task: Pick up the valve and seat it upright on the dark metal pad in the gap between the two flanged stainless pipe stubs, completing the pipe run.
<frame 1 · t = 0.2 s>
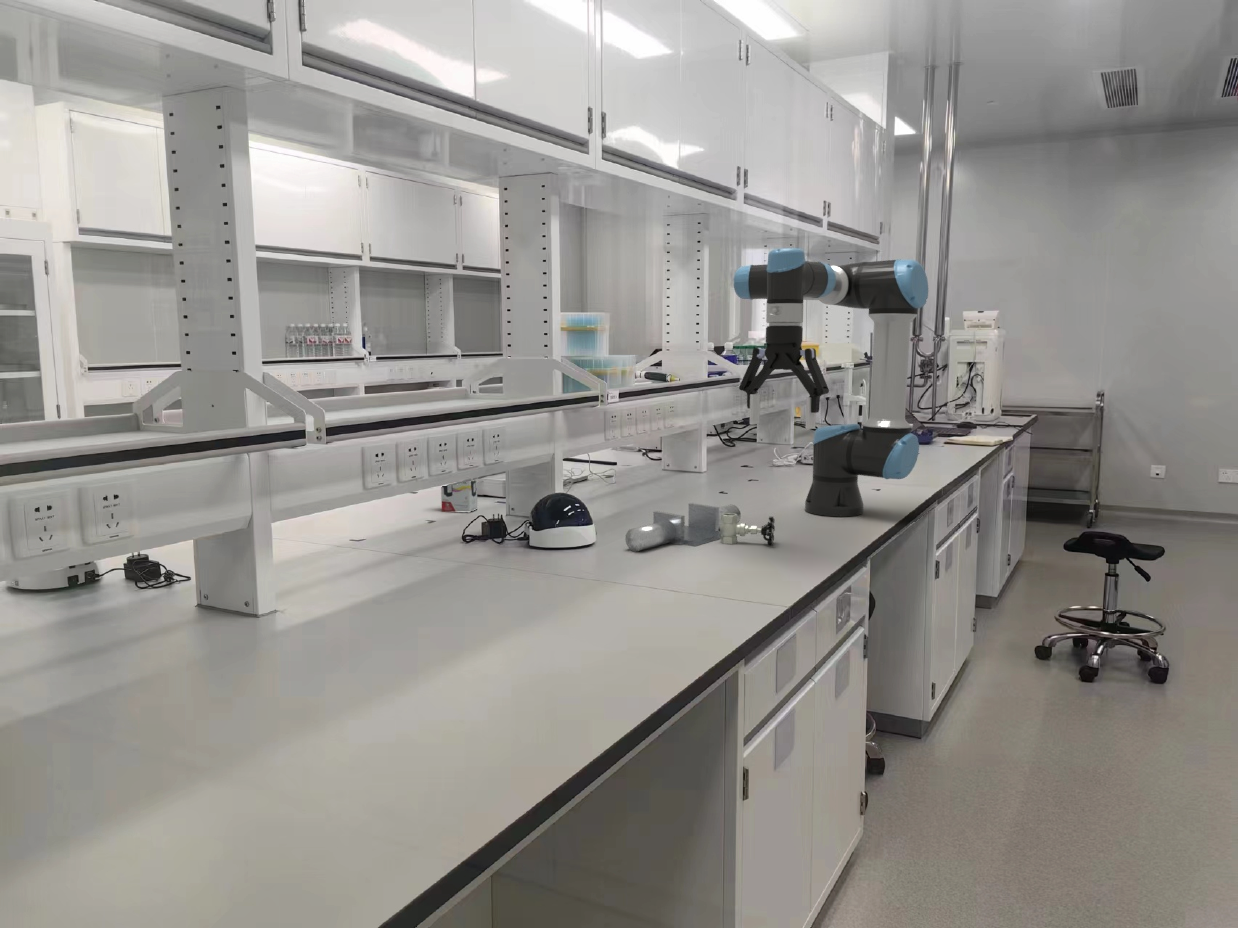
hand: (781, 426, 186), 27 cm above the worktop, fingers open, 13 cm apart
ink box: (459, 511, 235), on the worktop
valve: (745, 544, 199), on the worktop
pipe run: (686, 536, 205), on the worktop
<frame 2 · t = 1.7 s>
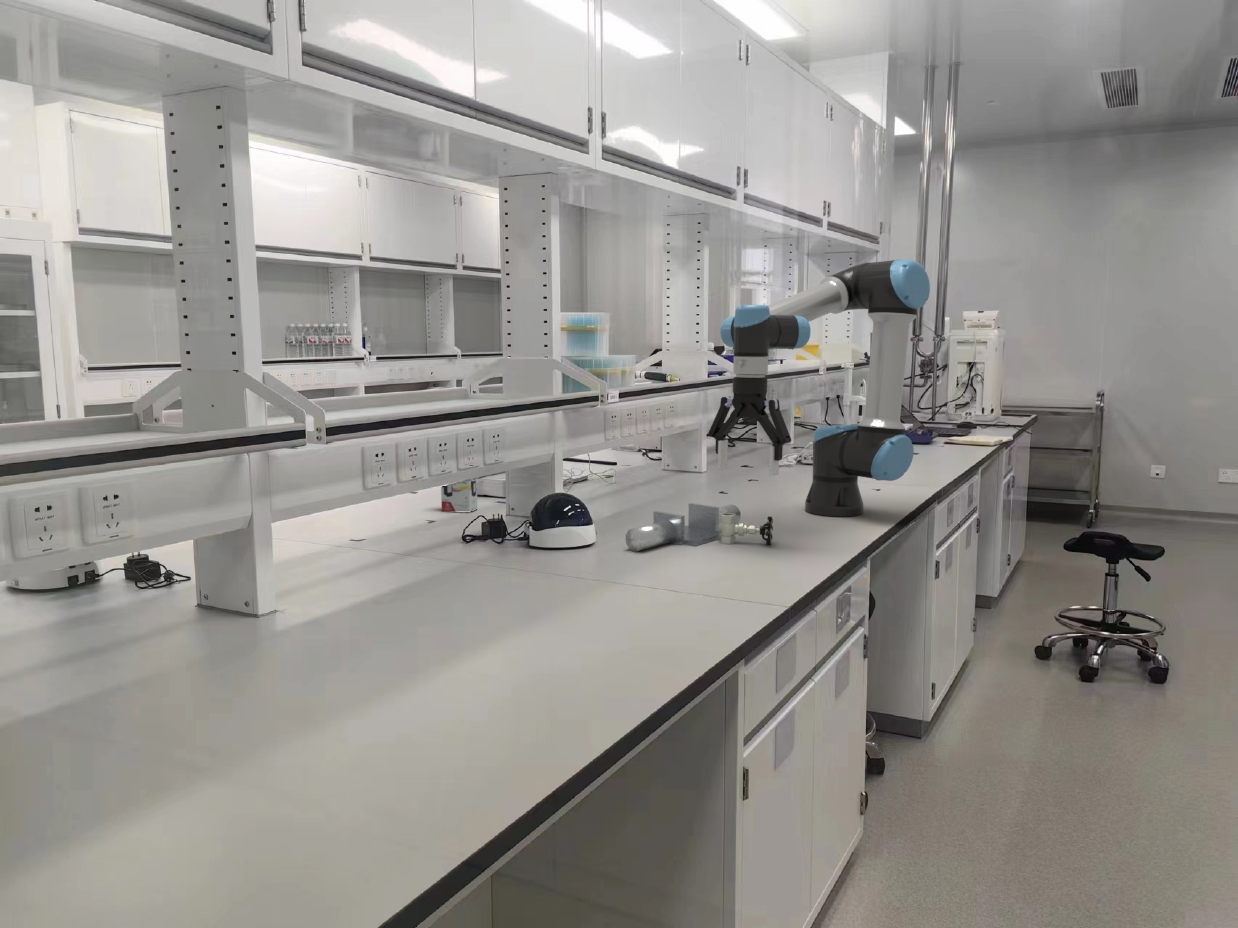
hand: (747, 472, 196), 16 cm above the worktop, fingers open, 13 cm apart
nothing on the worktop moved.
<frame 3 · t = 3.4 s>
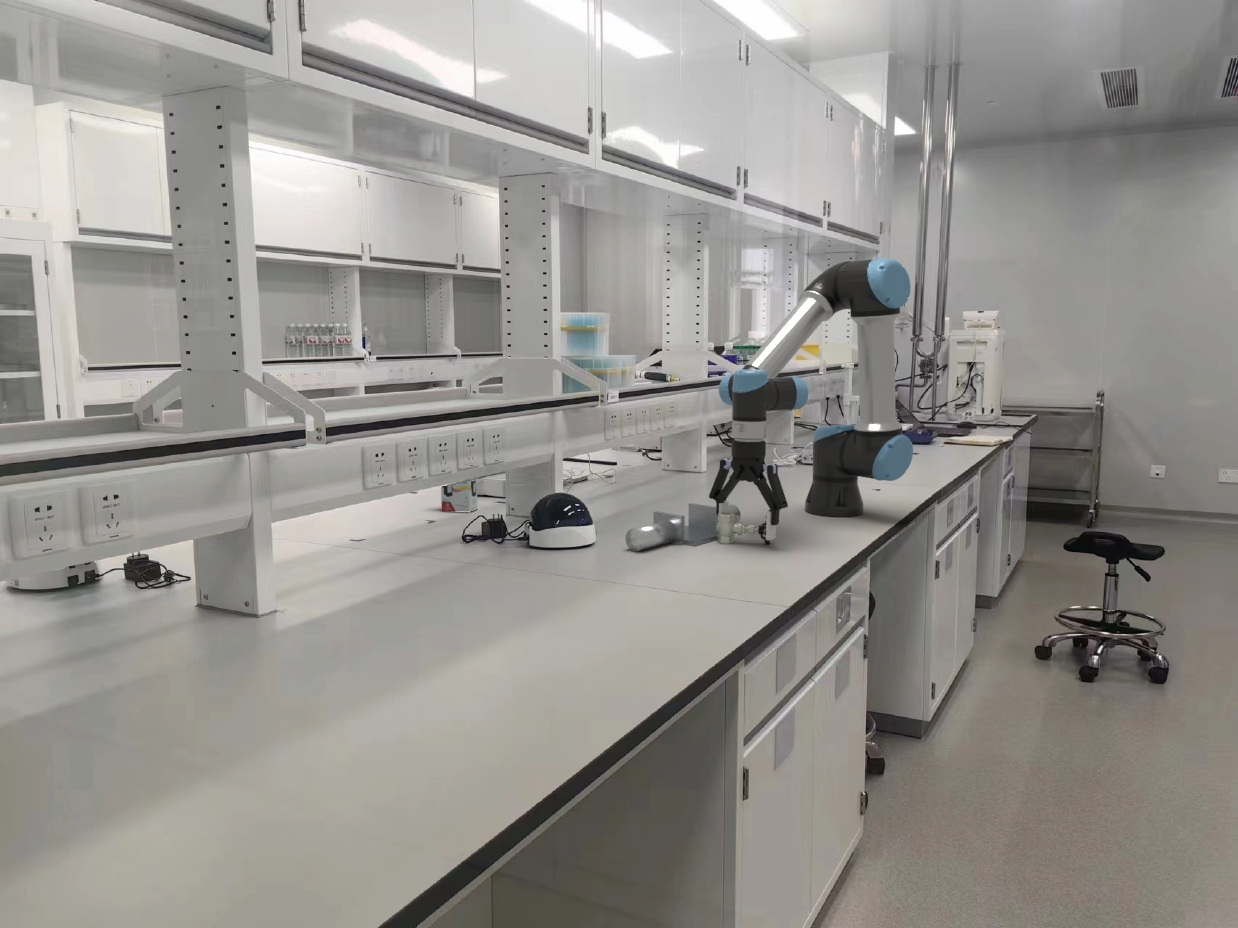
hand: (746, 534, 198), 2 cm above the worktop, fingers closed on valve, 12 cm apart
valve: (743, 543, 199), on the worktop, touching gripper
everything else where it was.
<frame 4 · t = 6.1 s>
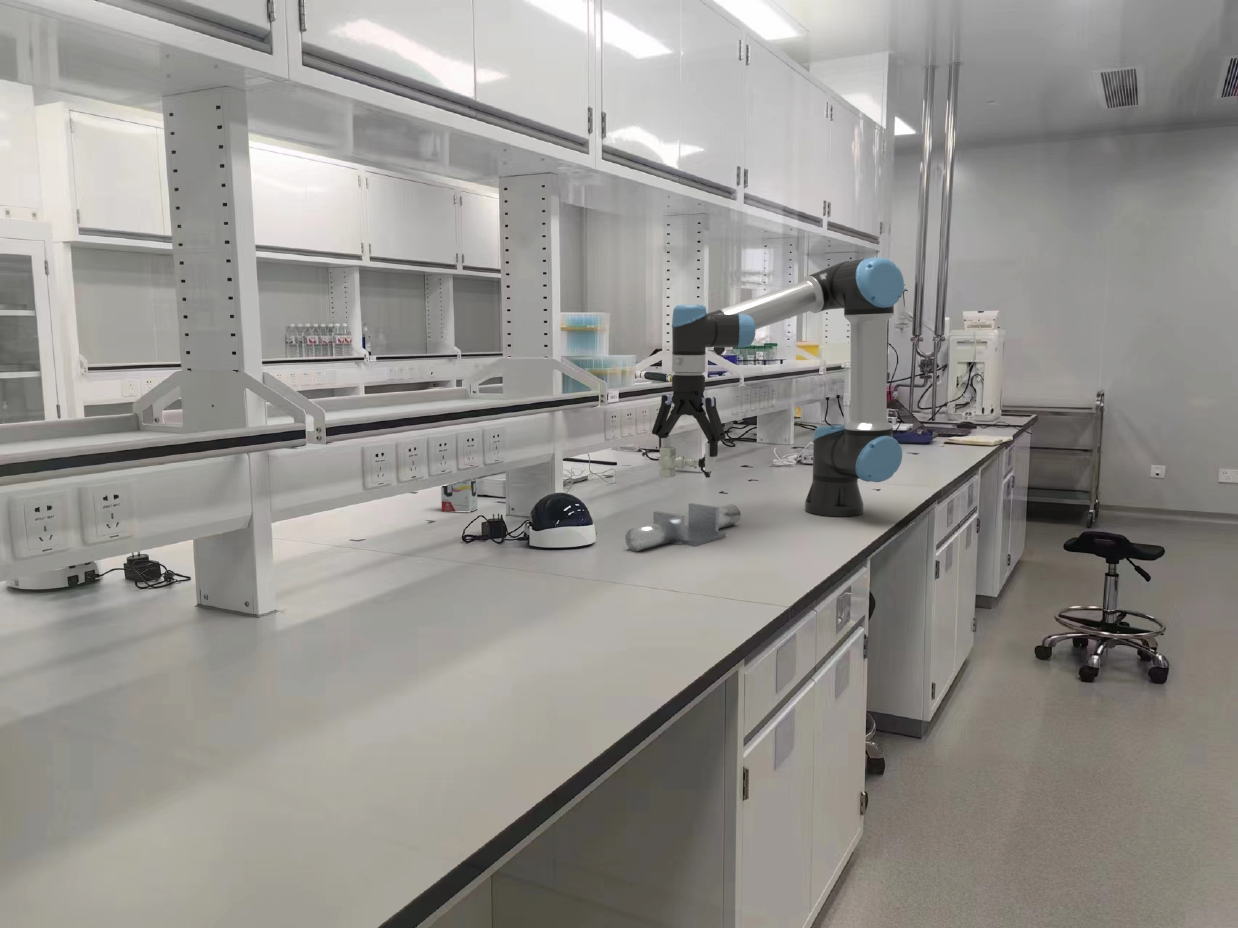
hand: (687, 468, 202), 16 cm above the worktop, fingers closed on valve, 12 cm apart
valve: (684, 477, 203), point 14 cm above the worktop, touching gripper
everything else where it was.
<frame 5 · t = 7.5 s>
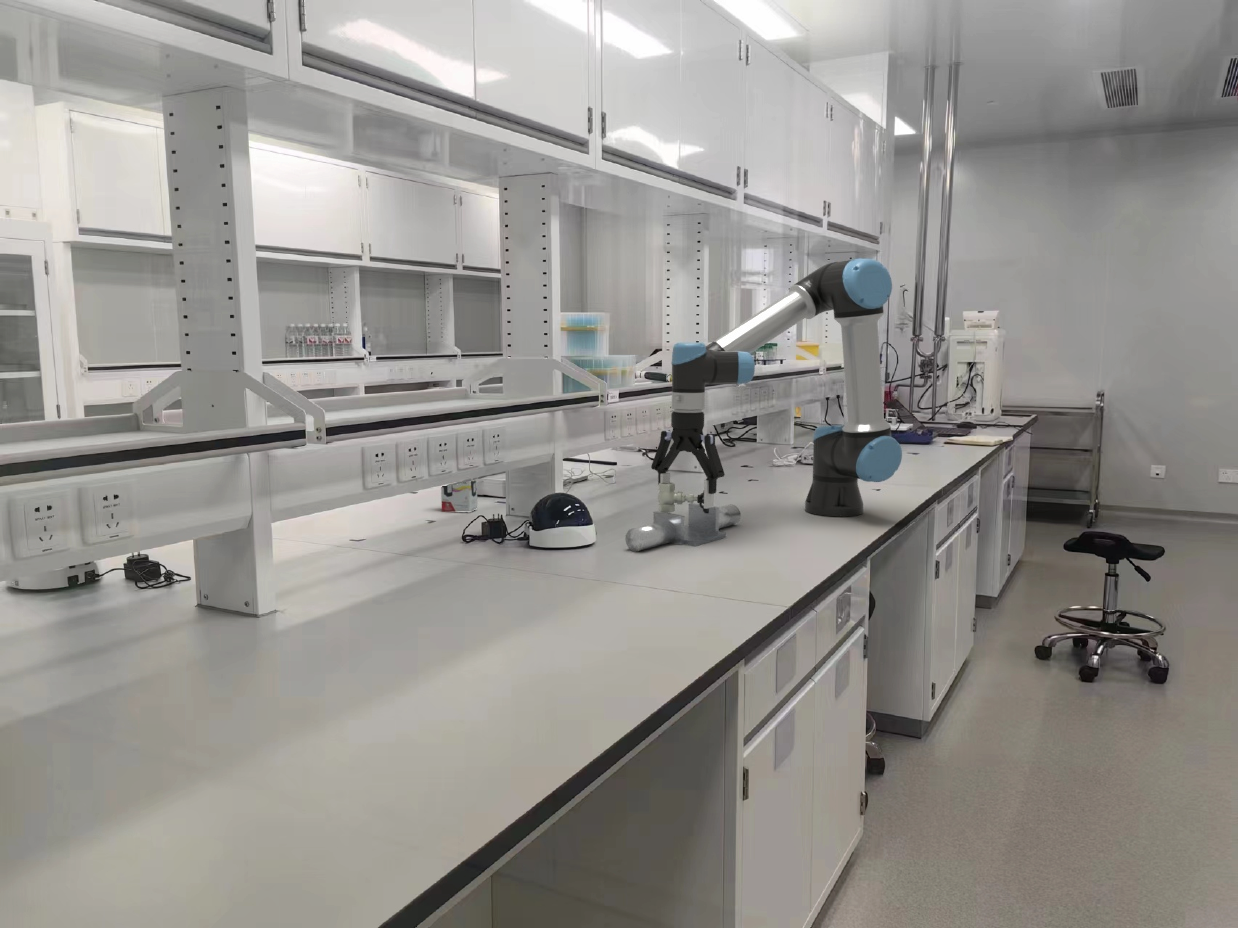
hand: (686, 504, 204), 8 cm above the worktop, fingers closed on valve, 12 cm apart
valve: (683, 512, 204), point 6 cm above the worktop, touching gripper
everything else where it was.
when the fingers open (4 cm above the worktop, at t = 8.9 s): valve drops 1 cm, resting on pipe run.
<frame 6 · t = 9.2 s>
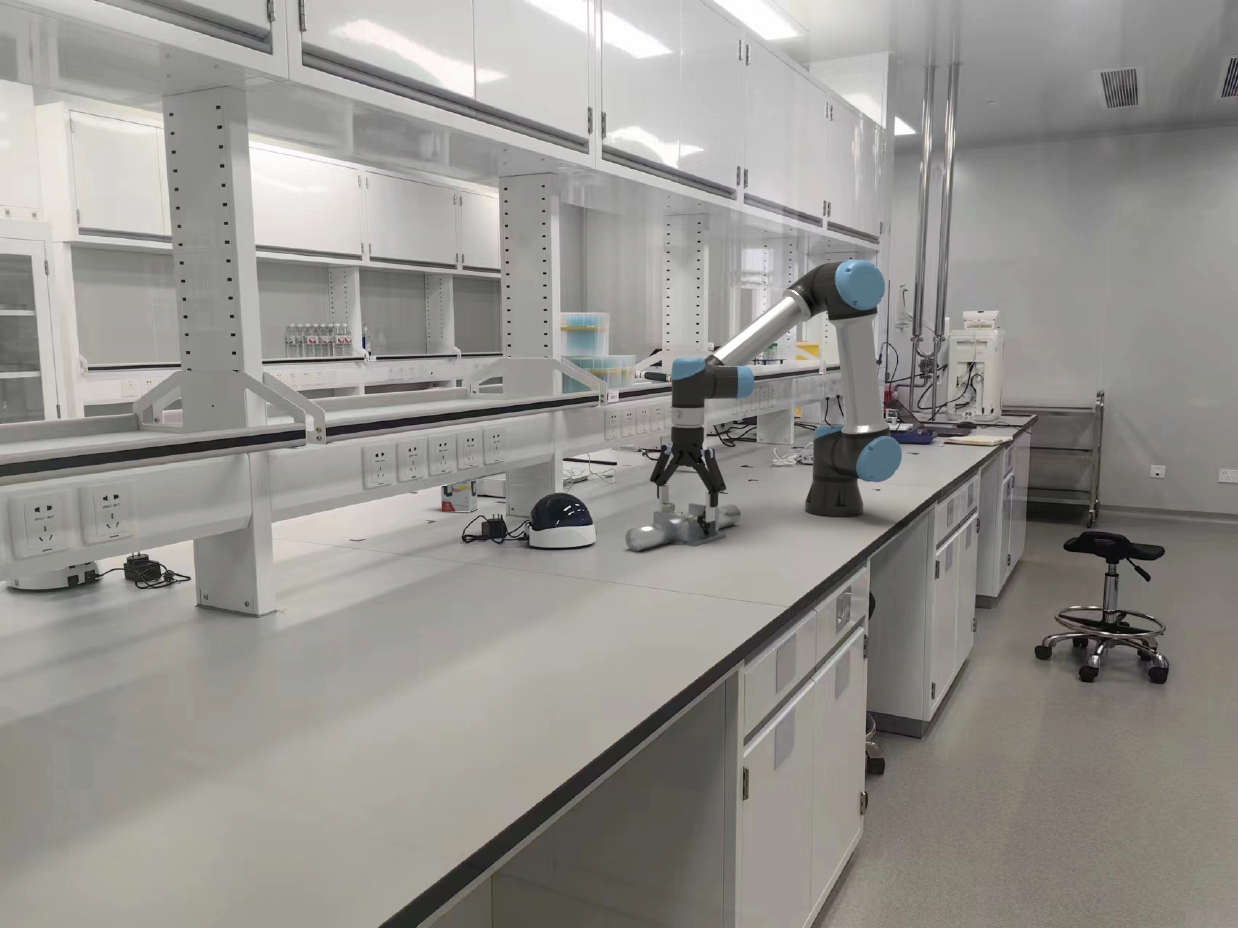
hand: (686, 517, 204), 5 cm above the worktop, fingers open, 13 cm apart
valve: (683, 533, 205), point 1 cm above the worktop, touching pipe run
everything else where it was.
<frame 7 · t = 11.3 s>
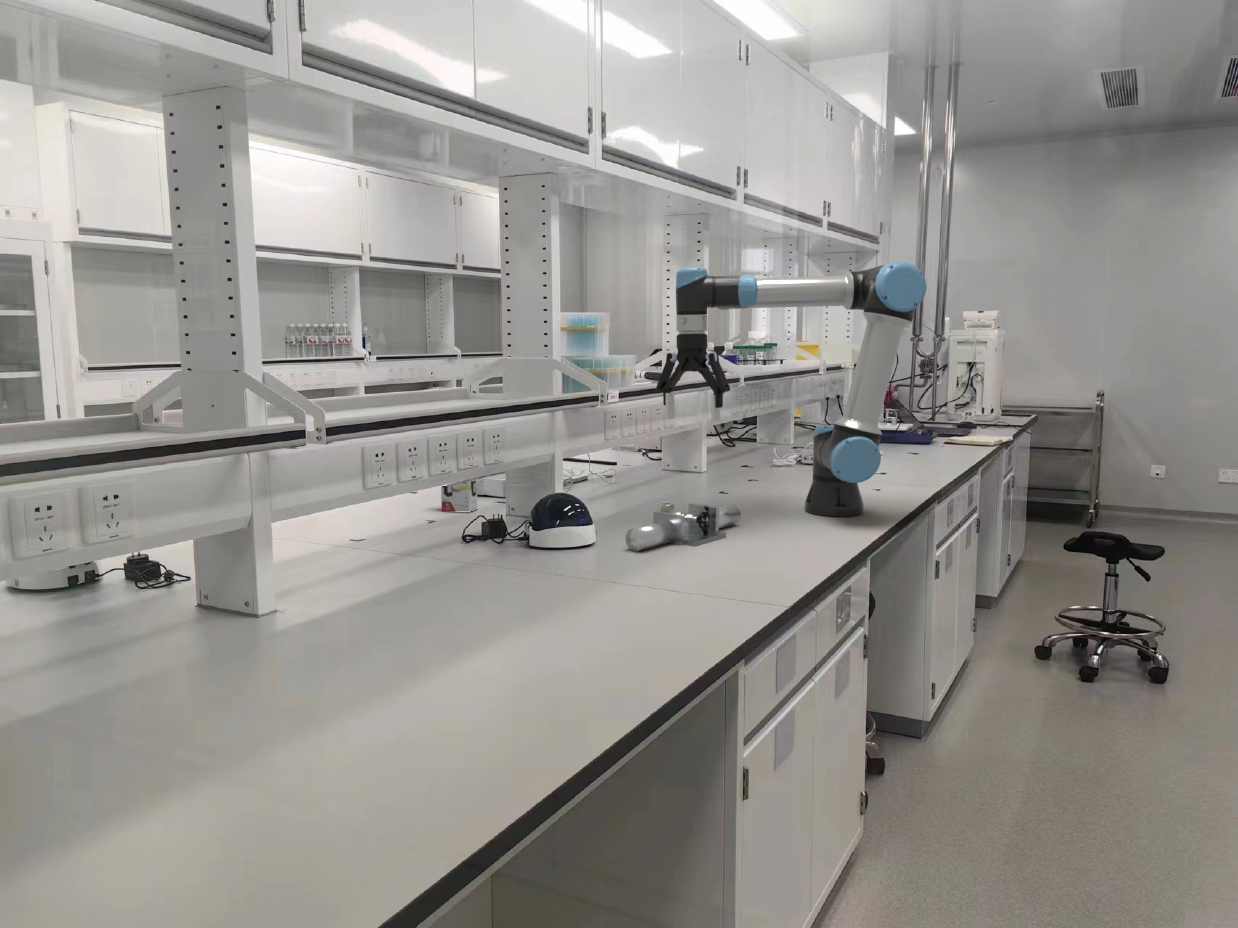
hand: (692, 420, 217), 26 cm above the worktop, fingers open, 13 cm apart
nothing on the worktop moved.
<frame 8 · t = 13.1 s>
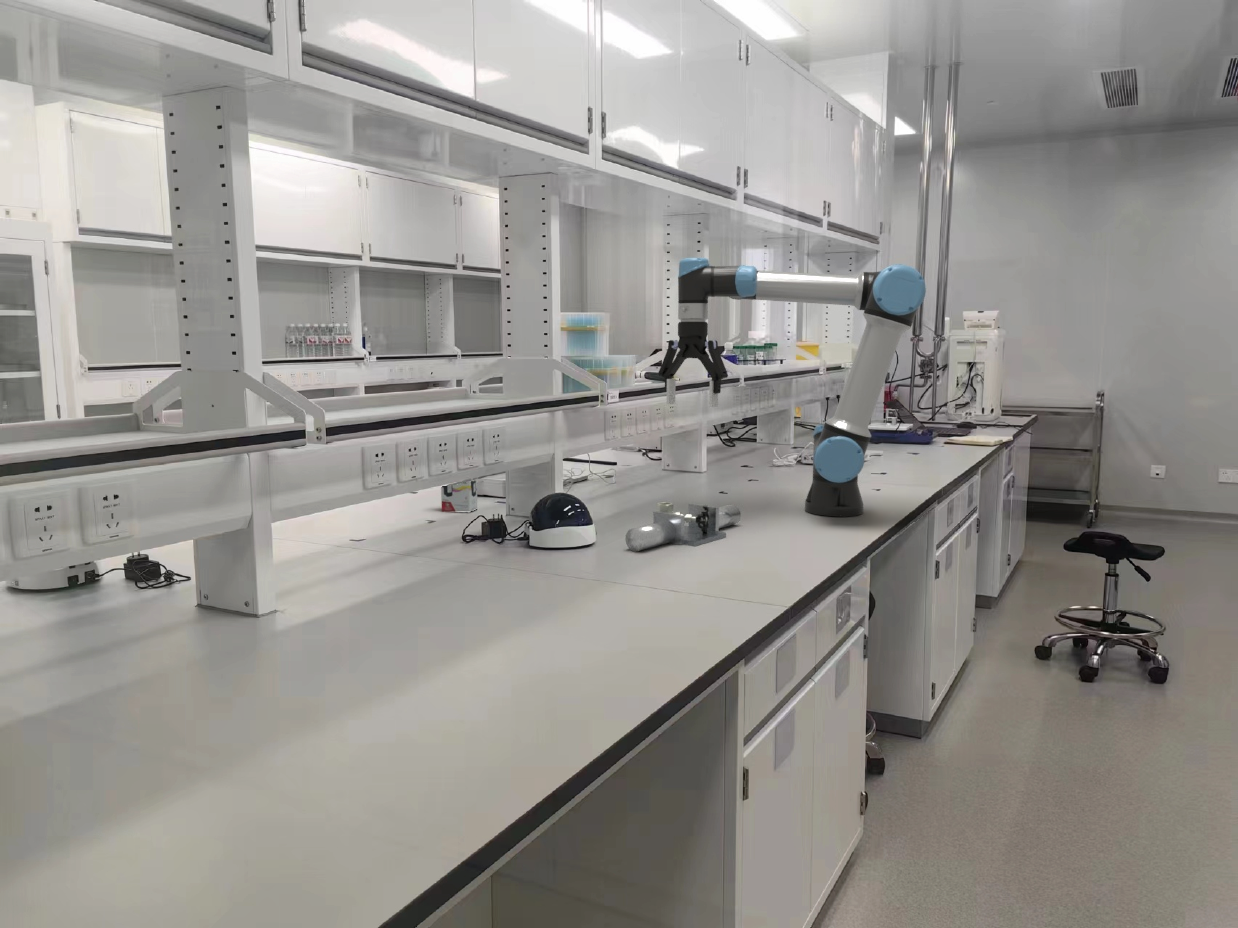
hand: (691, 405, 225), 29 cm above the worktop, fingers open, 13 cm apart
nothing on the worktop moved.
at the end: valve inside the target area on the pipe run (1.3 cm from its centre), point 0.8 cm above the pipe run's base; the gripper is holding nothing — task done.
